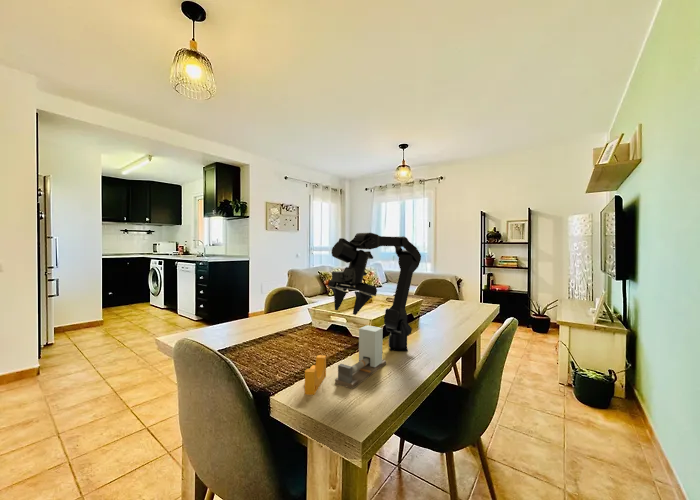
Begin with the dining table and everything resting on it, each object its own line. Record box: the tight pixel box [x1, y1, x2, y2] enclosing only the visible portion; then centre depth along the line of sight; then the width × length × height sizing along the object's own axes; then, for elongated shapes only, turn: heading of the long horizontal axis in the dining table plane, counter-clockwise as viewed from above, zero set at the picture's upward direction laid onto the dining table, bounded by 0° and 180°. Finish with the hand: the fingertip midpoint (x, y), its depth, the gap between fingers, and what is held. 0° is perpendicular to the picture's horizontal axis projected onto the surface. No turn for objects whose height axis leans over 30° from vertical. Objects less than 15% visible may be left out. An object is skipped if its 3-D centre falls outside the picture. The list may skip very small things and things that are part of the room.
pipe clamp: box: [304, 354, 327, 396], centre depth 87 cm, size 12×4×6 cm, turn 169°
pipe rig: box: [334, 357, 387, 390], centre depth 95 cm, size 21×6×6 cm, turn 146°
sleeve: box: [358, 324, 384, 367], centre depth 99 cm, size 5×6×11 cm
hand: (344, 312), depth 99 cm, fingers open, 9 cm apart
